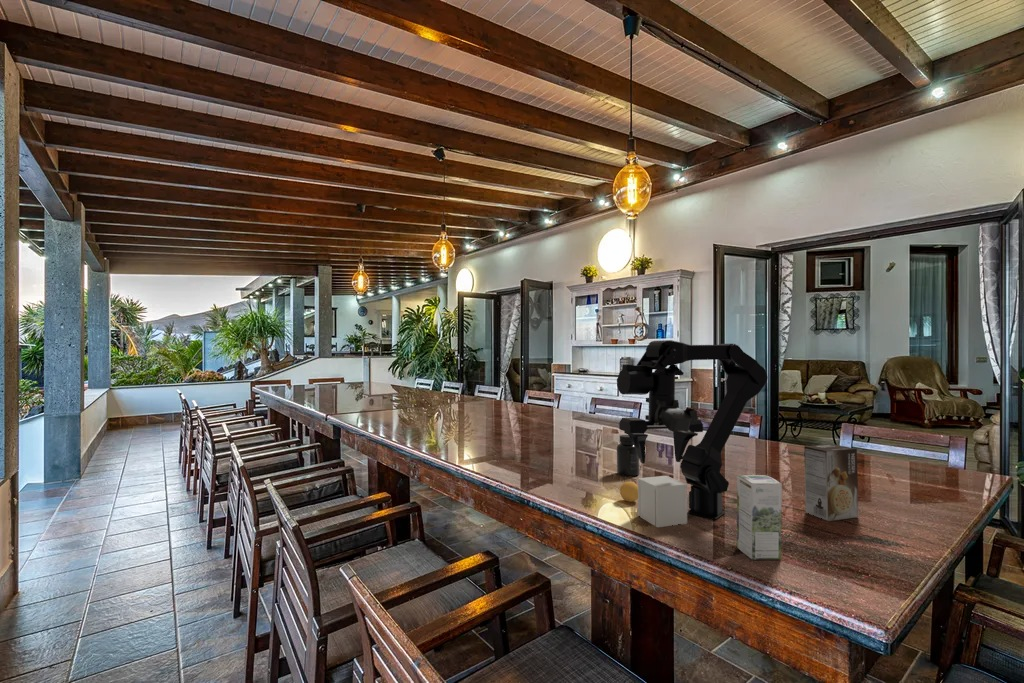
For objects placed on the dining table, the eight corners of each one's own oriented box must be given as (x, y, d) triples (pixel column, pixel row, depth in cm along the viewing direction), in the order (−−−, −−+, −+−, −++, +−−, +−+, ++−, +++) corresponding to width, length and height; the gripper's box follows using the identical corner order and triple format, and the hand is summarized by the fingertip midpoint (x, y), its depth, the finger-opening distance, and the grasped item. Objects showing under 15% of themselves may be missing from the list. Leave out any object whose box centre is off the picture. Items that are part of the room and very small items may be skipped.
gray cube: (666, 512, 115) (666, 475, 115) (687, 523, 108) (686, 484, 108) (638, 515, 113) (638, 478, 113) (657, 527, 106) (657, 487, 106)
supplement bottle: (637, 471, 154) (637, 434, 154) (640, 477, 147) (640, 438, 147) (615, 471, 155) (615, 433, 155) (618, 476, 148) (617, 437, 148)
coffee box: (834, 509, 118) (833, 443, 118) (859, 518, 112) (858, 448, 112) (804, 512, 115) (803, 445, 116) (828, 521, 109) (827, 450, 109)
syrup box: (764, 547, 95) (764, 473, 95) (782, 560, 89) (782, 481, 89) (736, 548, 95) (735, 473, 95) (752, 561, 89) (751, 482, 89)
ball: (643, 501, 124) (643, 481, 124) (633, 505, 120) (633, 485, 120) (626, 497, 127) (626, 478, 127) (616, 501, 124) (616, 481, 124)
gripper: (644, 397, 101) (642, 472, 101) (719, 398, 106) (718, 469, 105) (618, 393, 112) (617, 460, 111) (688, 393, 117) (687, 458, 116)
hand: (660, 462), depth 111 cm, fingers open, 9 cm apart
